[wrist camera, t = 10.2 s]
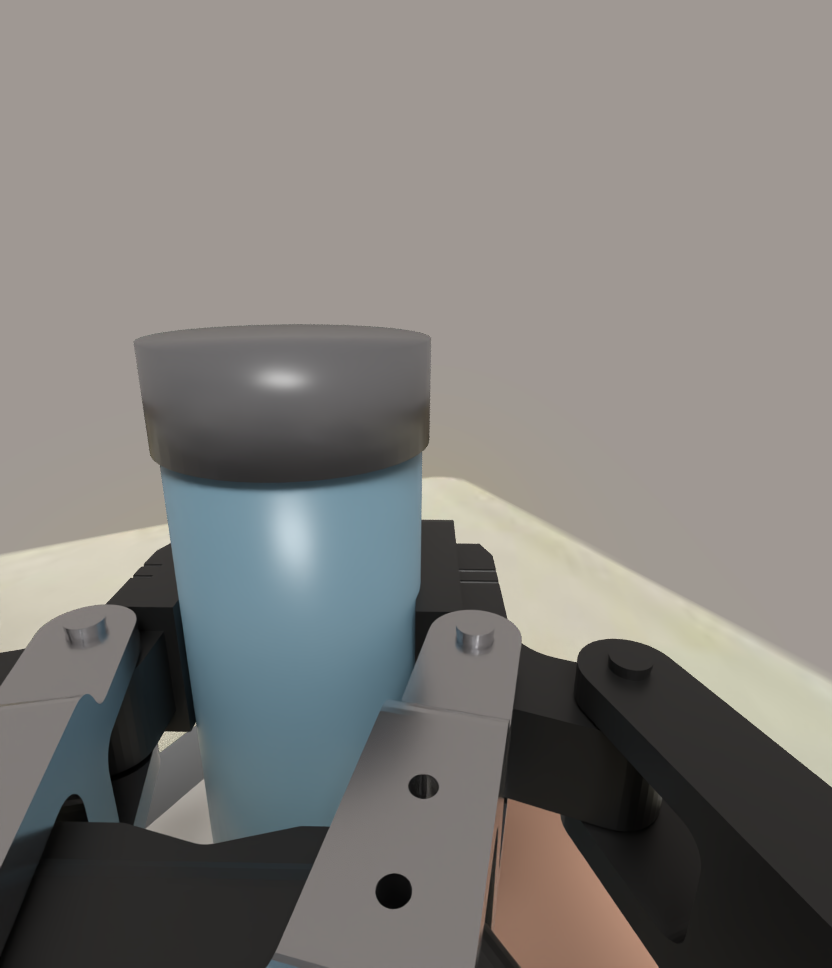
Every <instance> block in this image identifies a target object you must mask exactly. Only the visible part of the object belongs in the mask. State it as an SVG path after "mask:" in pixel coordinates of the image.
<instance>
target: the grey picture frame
mask: <svg viewBox="0 0 832 968" xmlns="http://www.w3.org/2000/svg"><path fill="white" fill-rule="evenodd" d="M159 754H160V767H159V771H158V775H157V780H156V784H155V788H154V792H153V796H152V800H151V804H150V809H149V813H148V817H147V821H146V825H145V829H147V830H151V831H154V832H158V833H161V834H165V835H168V836H172V837H175V838H179V839H182V840H185V841H189V842H192V843H196V844H207V845H208V844H213V838H212V831H211V824H210V817H209V810H208V803H207V796H206V789H205V782H204V774H203V767H202V760H201V753H200V746H199V739H198V732H197V725H196V726H195V727H193V729H192V731H191V732H187V733H185V734H184V735H183V736H181V737H180V738H179V739H177V740H176V741H175V742H173V743H172V744H171V745H170V746H168V747H167V748H166V749H164V750H163V751H162V752H160V753H159ZM494 934H495V935H496V936H497V938H498V939H499V940H500V942H501V943H502V944H503V945H504V947H505V948H506V949H507V950H508V952H509V953H510V954H511V955H512V957H513V958H514V959H515V960H516V962H517V963H518V964H519V966H520V967H521V968H659V967H658V965H657V964H656V962H655V961H654V960H653V958H652V957H651V955H650V954H649V952H648V951H647V949H646V948H645V946H644V945H643V943H642V942H641V940H640V939H639V938H638V936H637V935H636V933H635V932H634V930H633V929H632V927H631V926H630V924H629V923H628V921H627V920H626V919H625V917H624V916H623V914H622V913H621V911H620V910H619V908H618V907H617V905H616V904H615V902H614V901H613V899H612V898H611V897H610V895H609V894H608V892H607V891H606V889H605V888H604V886H603V885H602V883H601V882H600V880H599V879H598V878H597V876H596V875H595V873H594V872H593V870H592V869H591V867H590V866H589V864H588V863H587V861H586V860H585V858H584V857H583V856H582V854H581V853H580V851H579V850H578V848H577V847H576V845H575V844H574V842H573V841H572V839H571V838H570V837H569V835H568V834H567V832H566V830H565V828H564V827H563V824H562V821H561V817H560V814H557V813H554V812H551V811H547V810H544V809H541V808H538V807H534V806H531V805H528V804H525V803H521V802H518V801H515V800H511V799H509V801H508V809H507V818H506V826H505V835H504V844H503V852H502V861H501V869H500V878H499V886H498V895H497V905H496V915H495V926H494Z"/></svg>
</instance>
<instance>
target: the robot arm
mask: <svg viewBox="0 0 832 968" xmlns="http://www.w3.org/2000/svg"><path fill="white" fill-rule="evenodd" d="M521 642H522V637H521V634H520V631H519V630H518V628H517V627H516V626H515V625H514V624H513V623H512V622H511V621H509V620H508V619H507V615H506V611H505V607H504V603H503V598H502V594H501V590H500V586H499V584H498V577H497V573H496V568H495V564H494V560H493V556H492V555H491V554H490V553H489V552H488V551H487V550H486V549H484V548H483V547H482V546H481V545H480V544H456V539H455V530H454V521H453V520H421V583H420V590H419V593H418V595H417V598H416V609H415V666H414V669H413V671H412V674H411V677H410V679H409V682H408V684H407V687H406V689H405V692H404V694H403V697H402V699H401V701H399V700H393V699H387V700H386V701H385V702H384V704H383V706H382V708H381V710H380V712H379V714H378V717H377V719H376V721H375V723H374V726H373V728H372V730H371V733H370V735H369V737H368V740H367V742H366V744H365V747H364V749H363V751H362V754H361V756H360V758H359V760H358V763H357V765H356V767H355V770H354V772H353V774H352V777H351V779H350V781H349V784H348V786H347V788H346V791H345V793H344V795H343V797H342V800H341V802H340V804H339V807H338V809H337V811H336V814H335V816H334V818H333V821H332V823H331V825H330V827H329V826H298V827H293V828H288V829H283V830H278V831H274V832H269V833H264V834H259V835H254V836H249V837H244V838H239V839H234V840H229V841H225V842H220V843H215V844H208V845H207V844H196V843H192V842H189V841H185V840H182V839H179V838H175V837H172V836H168V835H165V834H161V833H158V832H154V831H151V830H147V829H145V825H146V821H147V817H148V813H149V809H150V804H151V800H152V796H153V792H154V788H155V784H156V780H157V775H158V771H159V767H160V754H159V748H158V742H159V740H160V738H161V736H162V734H163V733H164V731H175V732H191V731H192V729H193V727H194V725H195V723H196V718H195V711H194V704H193V696H192V689H191V682H190V675H189V668H188V661H187V654H186V647H185V640H184V633H183V626H182V618H181V611H180V604H179V597H178V590H177V583H176V576H175V569H174V562H173V555H172V547H171V543H170V544H168V545H166V546H165V547H163V548H161V549H159V550H157V551H156V552H155V553H154V554H153V555H152V556H151V557H150V558H149V559H148V560H147V561H146V562H145V563H144V567H141V568H140V569H139V570H138V571H137V572H136V573H135V574H134V575H133V578H130V579H129V580H128V581H127V582H126V583H125V584H124V586H123V587H122V588H121V589H120V590H119V591H118V592H117V593H116V594H115V595H114V596H113V597H112V598H111V599H110V600H109V601H108V602H107V603H106V604H105V605H94V606H88V607H83V608H80V609H76V610H73V611H70V612H67V613H65V614H62V615H60V616H58V617H56V618H54V619H52V620H50V621H49V622H48V623H46V624H45V625H43V626H42V627H41V628H40V629H39V630H38V631H37V633H36V634H35V635H34V637H33V638H32V640H31V641H30V643H29V644H28V646H27V647H26V649H21V650H15V651H9V652H3V653H0V968H521V967H520V966H519V964H518V963H517V962H516V960H515V959H514V958H513V957H512V955H511V954H510V953H509V952H508V950H507V949H506V948H505V947H504V945H503V944H502V943H501V942H500V940H499V939H498V938H497V936H496V935H495V934H494V926H495V915H496V905H497V895H498V886H499V878H500V869H501V861H502V852H503V844H504V835H505V826H506V818H507V809H508V801H509V799H511V800H515V801H518V802H521V803H525V804H528V805H531V806H534V807H538V808H541V809H544V810H547V811H551V812H554V813H557V814H560V817H561V821H562V824H563V827H564V828H565V830H566V832H567V834H568V835H569V837H570V838H571V839H572V841H573V842H574V844H575V845H576V847H577V848H578V850H579V851H580V853H581V854H582V856H583V857H584V858H585V860H586V861H587V863H588V864H589V866H590V867H591V869H592V870H593V872H594V873H595V875H596V876H597V878H598V879H599V880H600V882H601V883H602V885H603V886H604V888H605V889H606V891H607V892H608V894H609V895H610V897H611V898H612V899H613V901H614V902H615V904H616V905H617V907H618V908H619V910H620V911H621V913H622V914H623V916H624V917H625V919H626V920H627V921H628V923H629V924H630V926H631V927H632V929H633V930H634V932H635V933H636V935H637V936H638V938H639V939H640V940H641V942H642V943H643V945H644V946H645V948H646V949H647V951H648V952H649V954H650V955H651V957H652V958H653V960H654V961H655V962H656V964H657V965H658V967H659V968H832V787H831V786H829V785H828V784H827V783H826V782H824V781H823V780H822V779H821V778H819V777H818V776H817V775H816V774H814V773H813V772H812V771H811V770H809V769H808V768H807V767H806V766H804V765H803V764H802V763H801V762H799V761H798V760H797V759H796V758H794V757H793V756H792V755H791V754H789V753H788V752H787V751H786V750H784V749H783V748H782V747H781V746H779V745H778V744H777V743H776V742H774V741H773V740H772V739H771V738H769V737H768V736H767V735H766V734H764V733H763V732H762V731H761V730H759V729H758V728H757V727H756V726H754V725H753V724H752V723H751V722H749V721H748V720H747V719H746V718H744V717H743V716H742V715H741V714H739V713H738V712H737V711H736V710H734V709H733V708H732V707H731V706H729V705H728V704H727V703H726V702H724V701H723V700H722V699H721V698H719V697H718V696H717V695H716V694H714V693H713V692H712V691H711V690H709V689H708V688H707V687H706V686H704V685H703V684H702V683H701V682H699V681H698V680H697V679H696V678H694V677H693V676H692V675H691V674H689V673H688V672H687V671H686V670H684V669H683V668H682V667H681V666H679V665H678V664H677V663H676V662H674V661H673V660H672V659H671V658H669V657H668V656H666V655H665V654H664V653H662V652H660V651H658V650H657V649H654V648H652V647H650V646H648V645H645V644H642V643H638V642H634V641H630V640H623V639H604V640H598V641H595V642H592V643H590V644H588V645H586V646H585V647H584V648H582V650H581V651H580V652H579V655H578V658H577V662H572V661H567V660H563V659H558V658H554V657H550V656H547V655H544V654H541V653H538V652H536V651H534V650H532V649H530V648H528V647H527V646H525V645H523V644H522V643H521Z"/></svg>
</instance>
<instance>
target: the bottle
mask: <svg viewBox="0 0 832 968" xmlns="http://www.w3.org/2000/svg"><path fill="white" fill-rule="evenodd" d="M134 347H135V354H136V362H137V369H138V375H139V382H140V389H141V396H142V403H143V410H144V417H145V423H146V430H147V436H148V444H149V451H150V456H151V457H152V459H153V460H154V461H155V462H157V463H158V464H159V465H160V469H161V477H162V483H163V491H164V498H165V505H166V512H167V519H168V526H169V533H170V540H171V547H172V555H173V562H174V569H175V576H176V583H177V590H178V597H179V604H180V611H181V618H182V626H183V633H184V640H185V647H186V654H187V661H188V668H189V675H190V682H191V689H192V696H193V704H194V711H195V718H196V725H197V732H198V739H199V746H200V753H201V760H202V767H203V774H204V782H205V789H206V796H207V803H208V810H209V817H210V824H211V831H212V838H213V844H215V843H220V842H225V841H229V840H234V839H239V838H244V837H249V836H254V835H259V834H264V833H269V832H274V831H278V830H283V829H288V828H293V827H298V826H329V827H330V825H331V823H332V821H333V818H334V816H335V814H336V811H337V809H338V807H339V804H340V802H341V800H342V797H343V795H344V793H345V791H346V788H347V786H348V784H349V781H350V779H351V777H352V774H353V772H354V770H355V767H356V765H357V763H358V760H359V758H360V756H361V754H362V751H363V749H364V747H365V744H366V742H367V740H368V737H369V735H370V733H371V730H372V728H373V726H374V723H375V721H376V719H377V717H378V714H379V712H380V710H381V708H382V706H383V704H384V702H385V701H386V700H387V699H393V700H399V701H401V699H402V697H403V694H404V692H405V689H406V687H407V684H408V682H409V679H410V677H411V674H412V671H413V669H414V666H415V609H416V598H417V595H418V593H419V590H420V583H421V501H422V451H423V450H424V449H425V448H426V447H427V446H428V443H429V429H430V428H429V427H430V426H429V425H430V367H431V366H430V365H431V364H430V363H431V338H430V336H428V335H426V334H423V333H420V332H415V331H409V330H402V329H394V328H383V327H370V326H350V325H302V324H300V325H299V324H297V325H248V326H227V327H211V328H199V329H187V330H178V331H170V332H163V333H157V334H152V335H148V336H144V337H140V338H138V339H136V340H135V341H134Z"/></svg>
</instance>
